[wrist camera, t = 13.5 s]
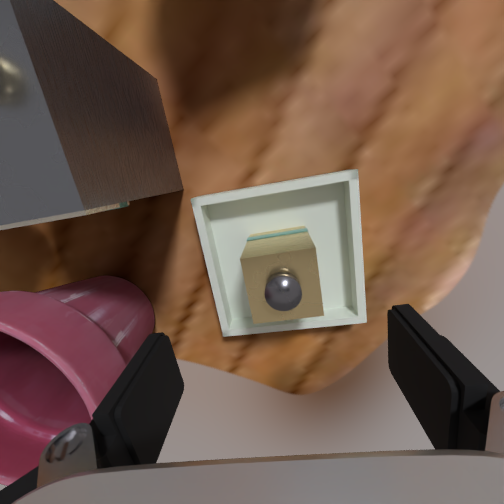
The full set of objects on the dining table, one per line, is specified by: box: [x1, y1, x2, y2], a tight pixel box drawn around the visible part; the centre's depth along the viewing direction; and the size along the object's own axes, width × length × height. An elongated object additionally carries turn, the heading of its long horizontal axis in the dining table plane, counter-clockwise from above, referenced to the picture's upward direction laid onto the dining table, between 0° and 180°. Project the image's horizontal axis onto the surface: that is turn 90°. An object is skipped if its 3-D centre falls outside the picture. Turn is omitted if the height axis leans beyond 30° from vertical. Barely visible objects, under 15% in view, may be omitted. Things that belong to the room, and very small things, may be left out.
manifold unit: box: [0, 0, 184, 230], centre depth 16 cm, size 9×10×15 cm
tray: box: [191, 169, 367, 337], centre depth 24 cm, size 13×13×2 cm
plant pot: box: [0, 276, 155, 486], centre depth 23 cm, size 14×14×13 cm
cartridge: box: [240, 226, 324, 324], centre depth 21 cm, size 5×5×8 cm
